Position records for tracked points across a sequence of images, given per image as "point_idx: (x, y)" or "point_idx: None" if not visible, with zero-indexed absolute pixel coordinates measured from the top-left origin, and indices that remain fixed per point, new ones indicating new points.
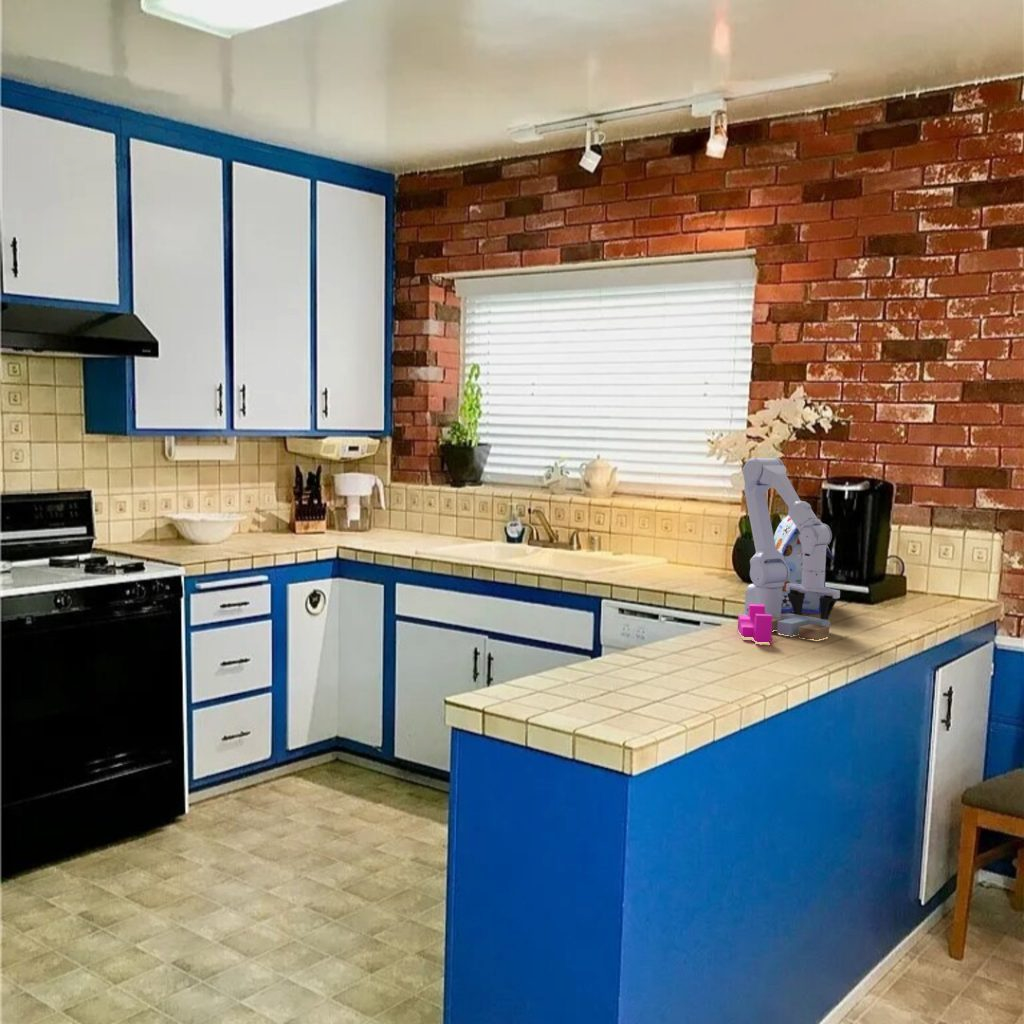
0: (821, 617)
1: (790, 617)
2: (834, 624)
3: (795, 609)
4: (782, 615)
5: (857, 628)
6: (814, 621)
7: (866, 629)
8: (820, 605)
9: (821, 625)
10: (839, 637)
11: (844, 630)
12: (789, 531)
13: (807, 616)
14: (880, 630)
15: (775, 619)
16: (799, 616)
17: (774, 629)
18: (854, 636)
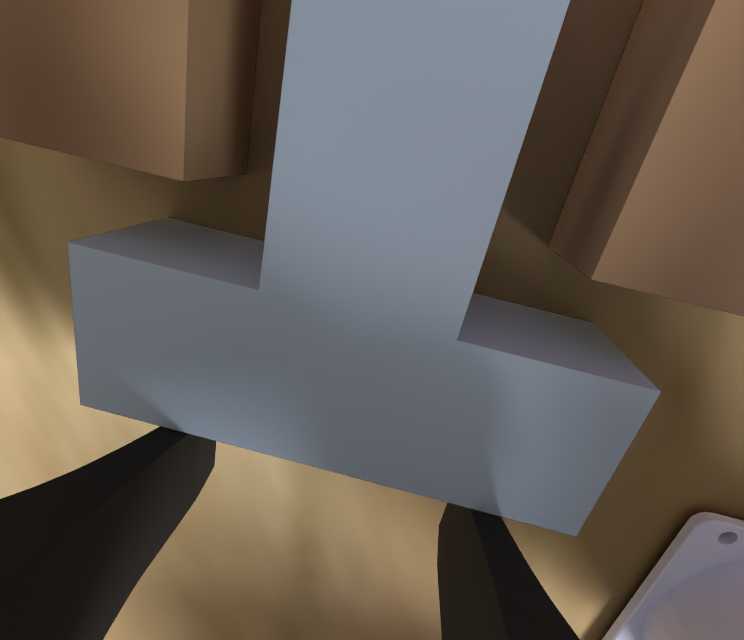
0: (168, 440)
1: (505, 348)
2: (272, 617)
3: (495, 556)
4: (626, 383)
5: None
6: (171, 264)
7: None
8: (48, 541)
9: (103, 236)
10: (45, 256)
11: None
12: None
13: (335, 465)
14: None
15: (702, 131)
16: (410, 422)
17: (633, 55)
18: (5, 360)
